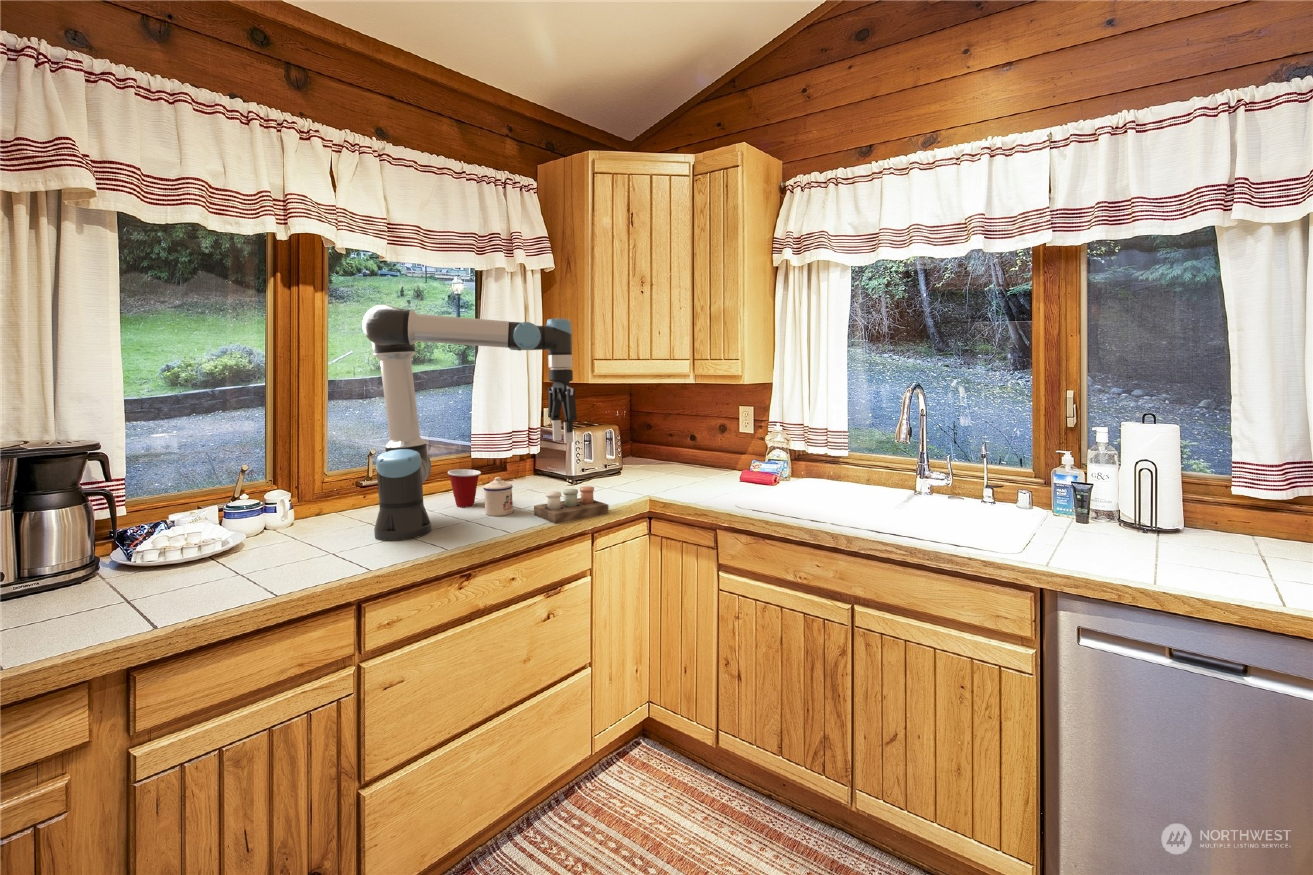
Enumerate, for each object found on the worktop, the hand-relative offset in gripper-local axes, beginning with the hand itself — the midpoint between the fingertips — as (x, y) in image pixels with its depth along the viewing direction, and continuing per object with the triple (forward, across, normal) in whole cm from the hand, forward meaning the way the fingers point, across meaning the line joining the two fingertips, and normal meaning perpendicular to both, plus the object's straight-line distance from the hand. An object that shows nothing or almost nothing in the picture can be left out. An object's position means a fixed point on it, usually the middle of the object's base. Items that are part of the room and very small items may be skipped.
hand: (562, 441), depth 196 cm
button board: (+23, -4, 0) cm, 23 cm away
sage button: (+20, -4, 0) cm, 21 cm away
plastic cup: (+23, +30, +22) cm, 44 cm away
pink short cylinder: (+20, -4, -6) cm, 22 cm away
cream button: (+20, -4, +6) cm, 22 cm away
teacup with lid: (+23, +14, +16) cm, 31 cm away
